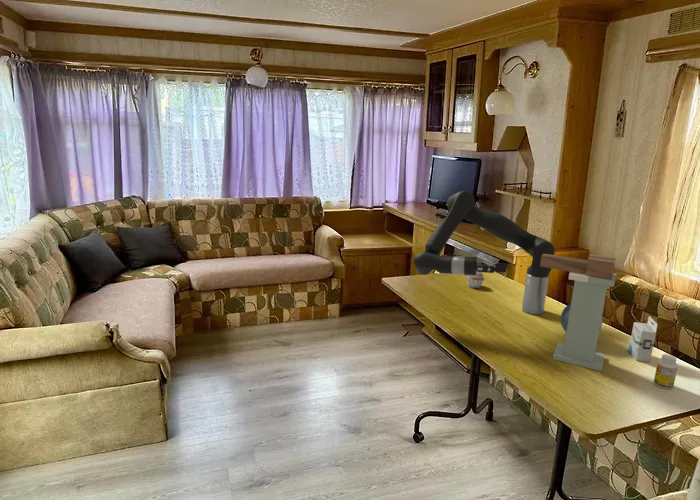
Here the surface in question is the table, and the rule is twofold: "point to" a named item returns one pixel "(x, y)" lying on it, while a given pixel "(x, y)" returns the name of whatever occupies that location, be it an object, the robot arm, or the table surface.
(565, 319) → the decorative ball
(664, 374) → the supplement bottle
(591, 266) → the walnut block
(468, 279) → the cupcake
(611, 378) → the table surface
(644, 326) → the ink box
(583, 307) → the stand
